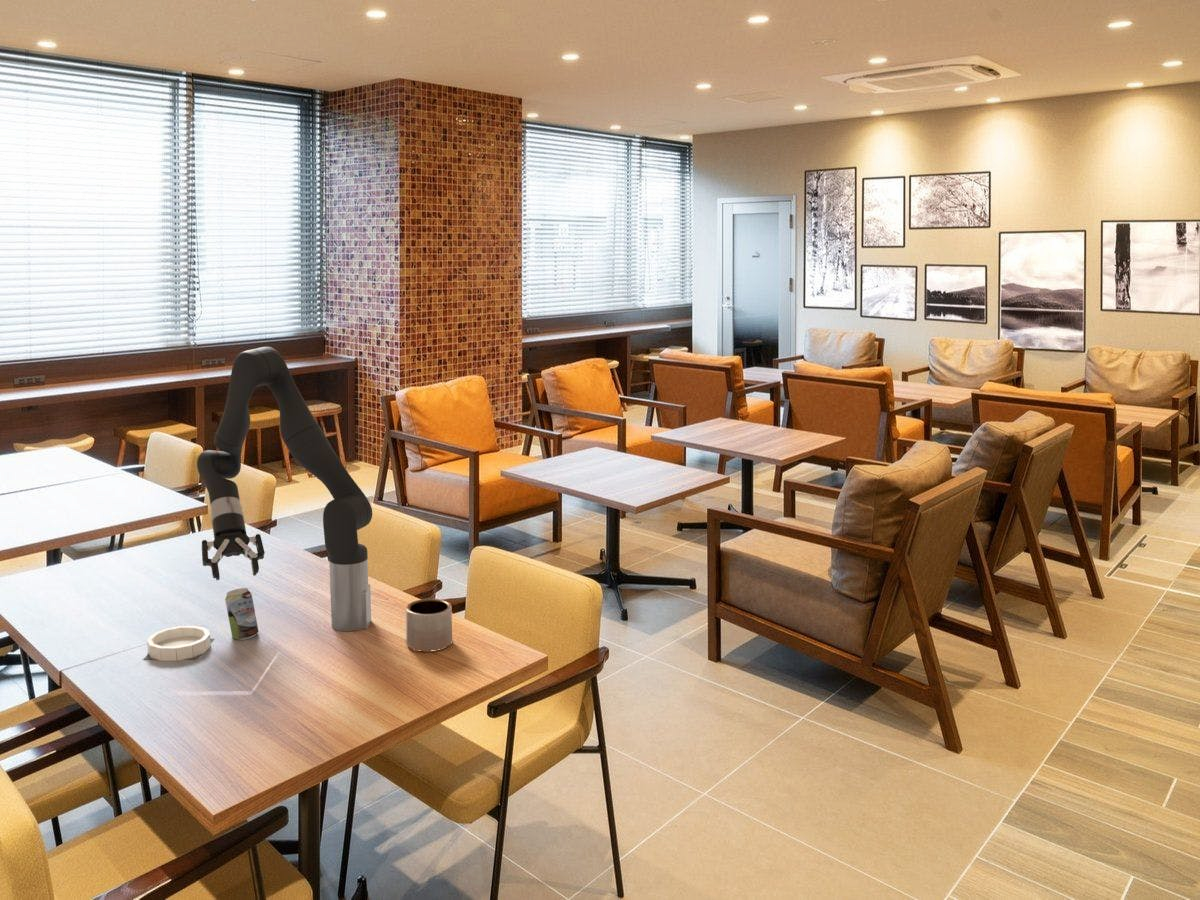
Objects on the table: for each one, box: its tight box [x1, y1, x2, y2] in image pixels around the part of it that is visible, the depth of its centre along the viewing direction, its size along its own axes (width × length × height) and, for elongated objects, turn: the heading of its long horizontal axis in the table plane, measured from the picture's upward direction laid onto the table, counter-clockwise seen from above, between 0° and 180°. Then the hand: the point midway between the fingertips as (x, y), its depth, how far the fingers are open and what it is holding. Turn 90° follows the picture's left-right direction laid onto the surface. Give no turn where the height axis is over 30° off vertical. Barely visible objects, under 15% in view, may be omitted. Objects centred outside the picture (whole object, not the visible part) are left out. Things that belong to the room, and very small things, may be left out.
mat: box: [142, 638, 215, 661], centre depth 222 cm, size 12×12×1 cm
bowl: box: [146, 625, 212, 662], centre depth 222 cm, size 13×13×3 cm
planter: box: [405, 598, 453, 651], centre depth 228 cm, size 11×11×10 cm
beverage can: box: [224, 587, 259, 641], centre depth 229 cm, size 6×7×12 cm
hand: (236, 576), depth 233 cm, fingers open, 8 cm apart
